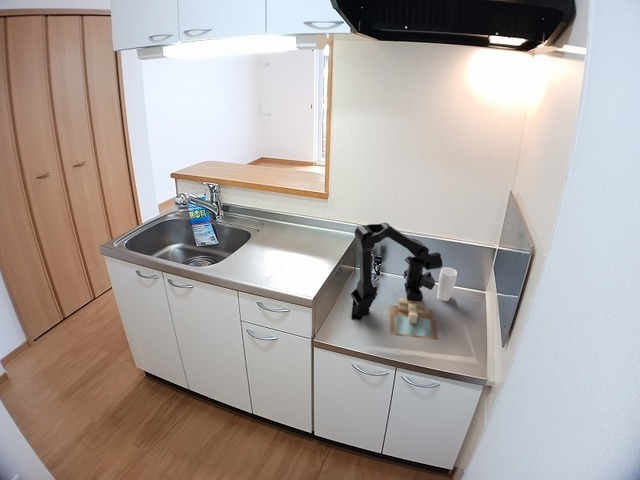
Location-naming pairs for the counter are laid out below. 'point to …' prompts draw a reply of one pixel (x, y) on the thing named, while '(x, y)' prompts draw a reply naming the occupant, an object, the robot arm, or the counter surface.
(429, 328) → the push board
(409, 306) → the t block
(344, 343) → the counter surface
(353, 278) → the counter surface
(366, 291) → the robot arm
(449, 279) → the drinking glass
